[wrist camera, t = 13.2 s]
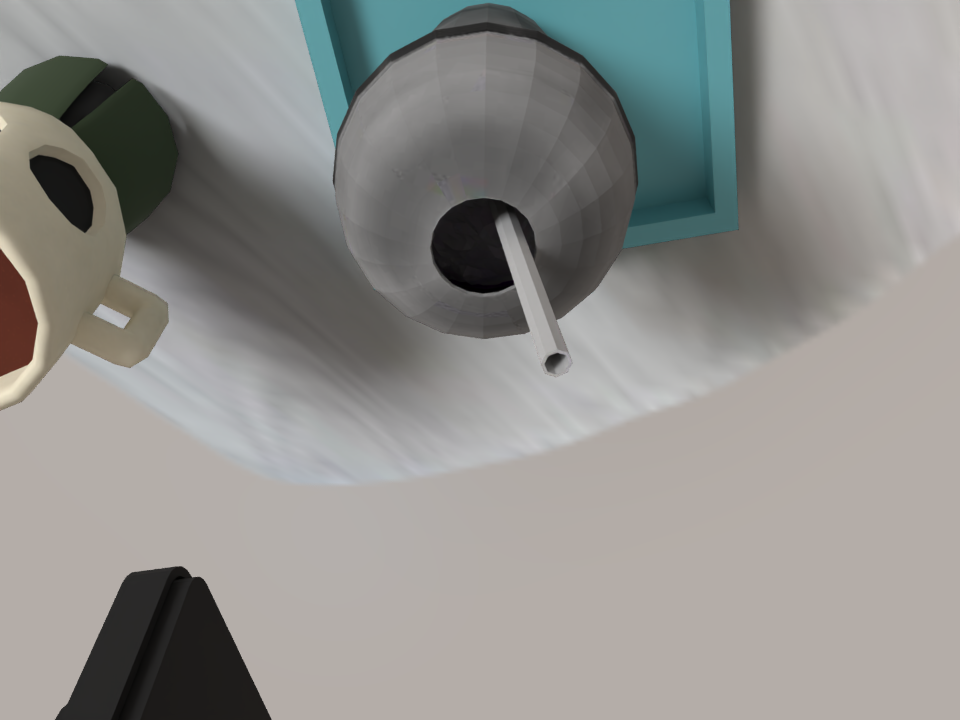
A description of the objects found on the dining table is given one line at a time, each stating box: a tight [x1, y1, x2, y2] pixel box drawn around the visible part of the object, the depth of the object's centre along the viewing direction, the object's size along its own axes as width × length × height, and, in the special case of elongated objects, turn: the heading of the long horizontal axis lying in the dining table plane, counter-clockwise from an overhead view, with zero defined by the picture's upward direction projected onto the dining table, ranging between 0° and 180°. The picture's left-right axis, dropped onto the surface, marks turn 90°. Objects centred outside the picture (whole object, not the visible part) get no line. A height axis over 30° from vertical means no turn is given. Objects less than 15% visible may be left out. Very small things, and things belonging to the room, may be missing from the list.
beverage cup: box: [333, 3, 638, 377], centre depth 23 cm, size 7×7×20 cm
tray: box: [295, 0, 739, 290], centre depth 31 cm, size 14×14×2 cm
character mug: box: [0, 56, 178, 411], centre depth 28 cm, size 11×7×13 cm, turn 58°
